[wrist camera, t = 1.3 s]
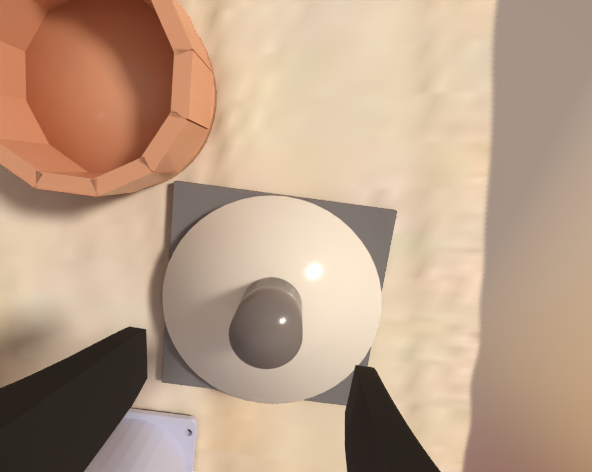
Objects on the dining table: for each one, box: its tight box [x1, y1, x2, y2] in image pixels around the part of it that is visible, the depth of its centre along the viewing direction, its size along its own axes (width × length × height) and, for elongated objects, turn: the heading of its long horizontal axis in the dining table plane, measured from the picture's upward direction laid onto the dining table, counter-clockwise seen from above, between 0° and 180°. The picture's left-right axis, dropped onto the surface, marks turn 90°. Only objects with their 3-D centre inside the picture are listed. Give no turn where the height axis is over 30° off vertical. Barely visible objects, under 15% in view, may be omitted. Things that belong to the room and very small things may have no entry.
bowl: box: [0, 0, 216, 197], centre depth 17 cm, size 11×11×4 cm
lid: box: [162, 195, 382, 404], centre depth 18 cm, size 13×13×4 cm
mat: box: [162, 181, 397, 406], centre depth 21 cm, size 13×13×1 cm
